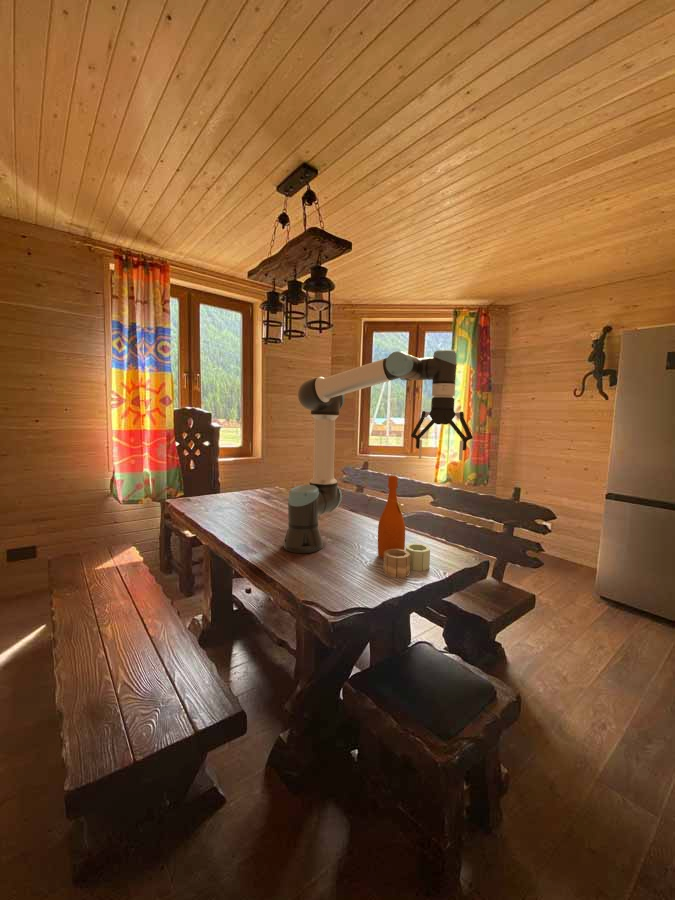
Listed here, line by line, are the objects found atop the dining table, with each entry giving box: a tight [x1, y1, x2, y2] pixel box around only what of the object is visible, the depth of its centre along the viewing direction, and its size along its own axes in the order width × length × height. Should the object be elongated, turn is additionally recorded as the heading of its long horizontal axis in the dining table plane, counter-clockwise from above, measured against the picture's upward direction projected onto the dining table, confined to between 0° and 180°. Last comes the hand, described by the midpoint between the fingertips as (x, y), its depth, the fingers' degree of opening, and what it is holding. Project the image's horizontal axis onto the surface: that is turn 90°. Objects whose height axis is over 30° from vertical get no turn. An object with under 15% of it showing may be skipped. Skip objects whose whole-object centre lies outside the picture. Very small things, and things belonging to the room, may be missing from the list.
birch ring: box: [382, 549, 411, 579], centre depth 122 cm, size 8×8×6 cm
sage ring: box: [405, 542, 431, 572], centre depth 128 cm, size 8×8×6 cm
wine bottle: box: [377, 474, 406, 560], centre depth 135 cm, size 10×10×30 cm
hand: (440, 459), depth 129 cm, fingers open, 13 cm apart
